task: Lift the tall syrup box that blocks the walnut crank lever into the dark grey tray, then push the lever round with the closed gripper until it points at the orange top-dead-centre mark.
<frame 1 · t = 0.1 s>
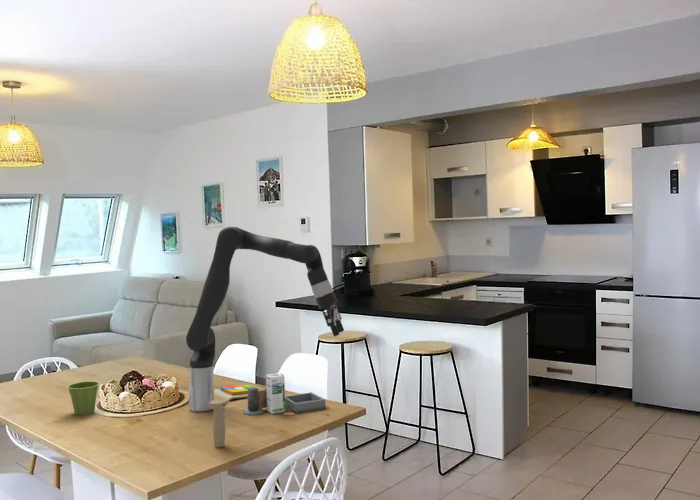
hand: (339, 333, 234), 31 cm above the table, tool tilted 20°, fingers open, 8 cm apart
syrup box: (275, 411, 241), on the table
handle: (219, 446, 203), on the table
plant pot: (84, 413, 243), on the table
grey tray: (303, 406, 247), on the table
crank base: (253, 411, 241), on the table
crank lever: (265, 397, 244), point 5 cm above the table, hinge at -4.0°
wooden puzzle: (239, 395, 268), on the table
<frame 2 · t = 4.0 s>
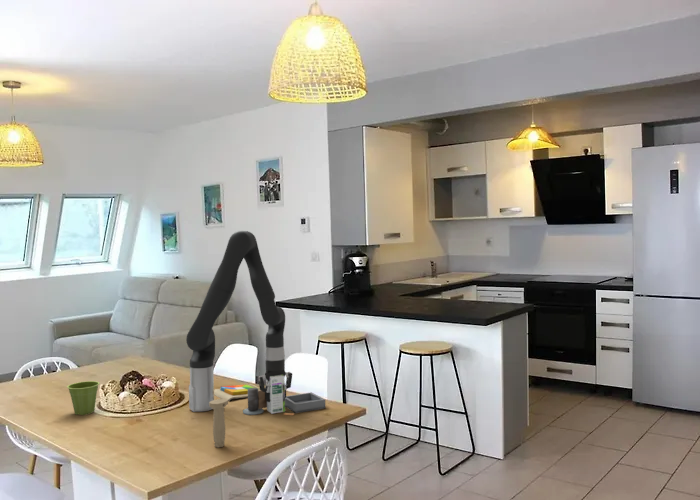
hand: (275, 400, 241), 4 cm above the table, tool pointing down, fingers closed on syrup box, 5 cm apart
syrup box: (275, 411, 241), on the table, touching gripper
everything else where it was.
when the fingers open (6 cm above the table, at t = 10.2 s): syrup box drops 1 cm, resting on grey tray.
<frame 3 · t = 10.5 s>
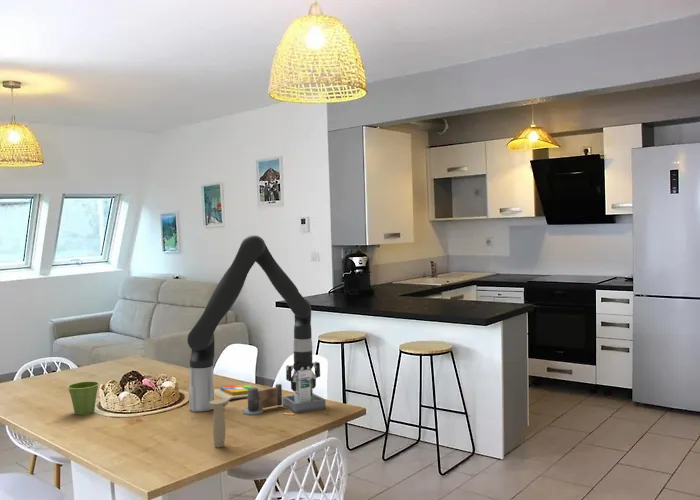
hand: (303, 389, 247), 7 cm above the table, tool pointing down, fingers open, 8 cm apart
syrup box: (303, 405, 247), point 1 cm above the table, touching grey tray
everything else where it was.
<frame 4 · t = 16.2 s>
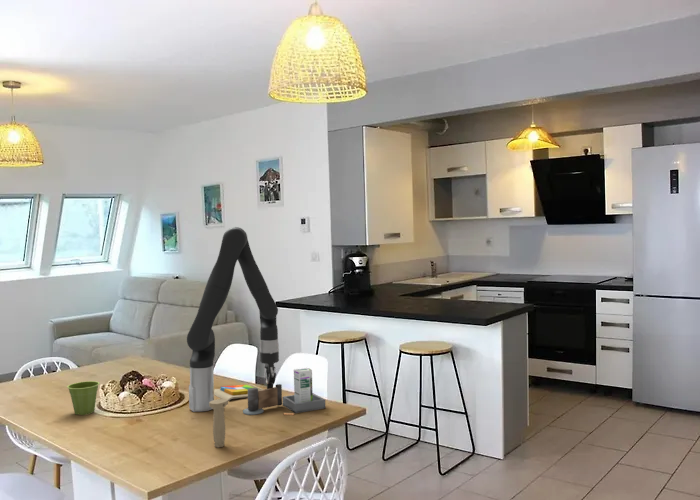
hand: (270, 392, 248), 6 cm above the table, tool pointing down, fingers closed
crank lever: (265, 397, 244), point 5 cm above the table, hinge at -3.7°, touching gripper
everything else where it was.
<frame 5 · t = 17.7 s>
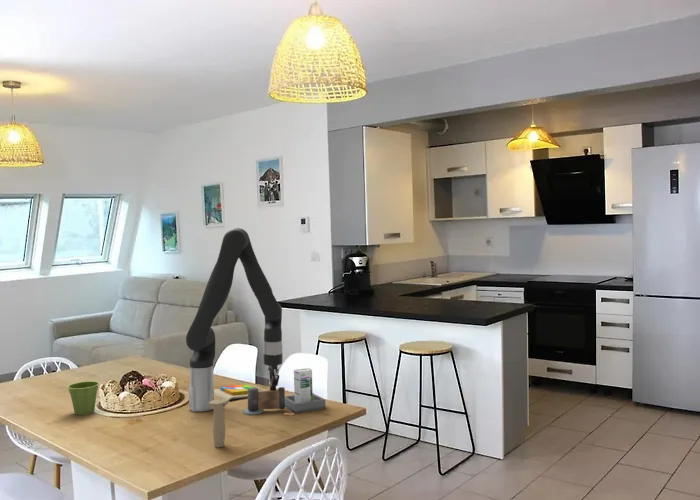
hand: (273, 395, 244), 6 cm above the table, tool pointing down, fingers closed
crank lever: (266, 398, 241), point 5 cm above the table, hinge at 23.0°, touching gripper
everything else where it was.
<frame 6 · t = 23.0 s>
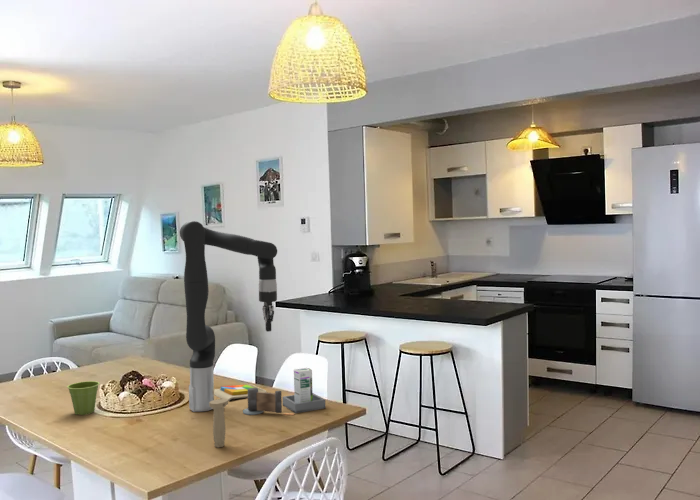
hand: (268, 331, 257), 29 cm above the table, tool pointing down, fingers closed
crank lever: (264, 400, 239), point 5 cm above the table, hinge at 50.0°
everything else where it was.
at the end: syrup box 0.1 cm off-centre on the grey tray, point 0.6 cm above the grey tray's base; crank lever at +50° (first picture: -4°); syrup box tilted 0° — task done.
